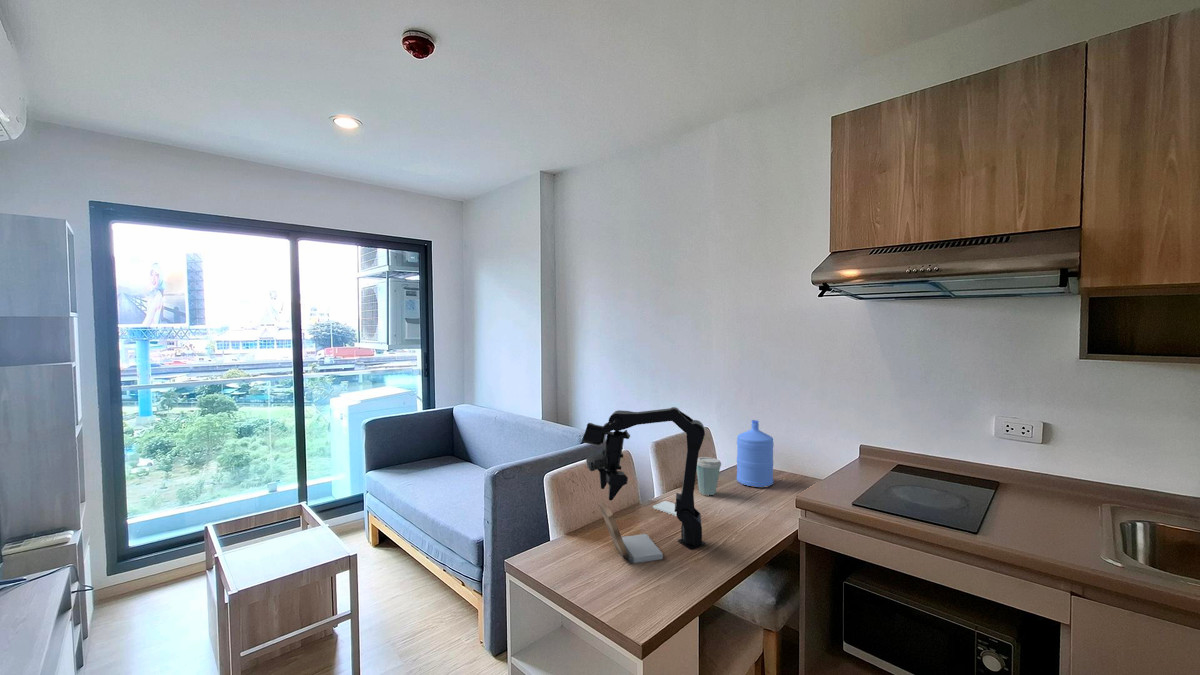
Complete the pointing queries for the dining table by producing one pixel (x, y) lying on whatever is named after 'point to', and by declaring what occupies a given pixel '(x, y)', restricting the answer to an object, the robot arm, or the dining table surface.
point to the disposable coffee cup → (708, 475)
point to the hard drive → (666, 507)
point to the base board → (641, 548)
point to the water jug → (755, 457)
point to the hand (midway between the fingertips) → (606, 494)
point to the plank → (613, 529)
